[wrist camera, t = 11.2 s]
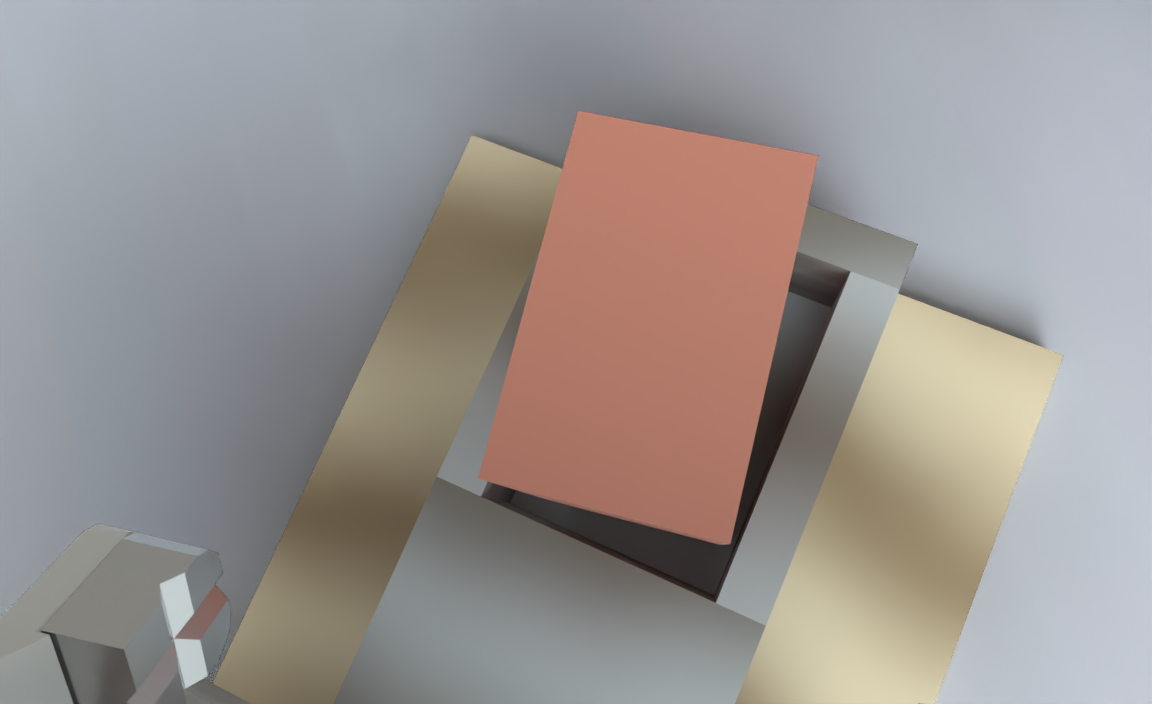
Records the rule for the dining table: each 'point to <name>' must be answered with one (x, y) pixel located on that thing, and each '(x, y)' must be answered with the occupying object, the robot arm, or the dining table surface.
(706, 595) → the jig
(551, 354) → the salmon pink rectangular box
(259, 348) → the dining table surface
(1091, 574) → the dining table surface
